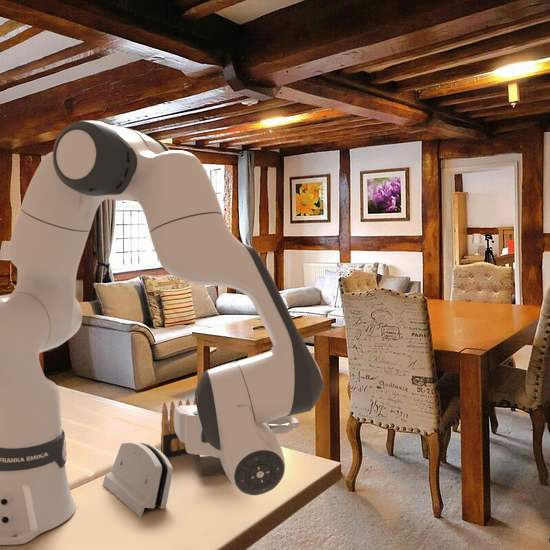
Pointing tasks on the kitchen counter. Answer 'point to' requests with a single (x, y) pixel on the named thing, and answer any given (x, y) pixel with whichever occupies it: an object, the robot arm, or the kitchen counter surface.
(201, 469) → the square nut block
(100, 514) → the kitchen counter surface
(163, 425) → the ammunition clip
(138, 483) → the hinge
